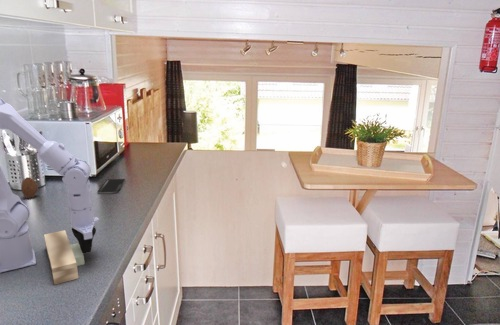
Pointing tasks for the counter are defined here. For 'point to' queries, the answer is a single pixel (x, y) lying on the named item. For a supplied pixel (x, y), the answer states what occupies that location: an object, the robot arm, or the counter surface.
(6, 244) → the robot arm
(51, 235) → the overhang shelf
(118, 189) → the phone
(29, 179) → the coconut
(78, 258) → the pale green slab
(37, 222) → the counter surface
